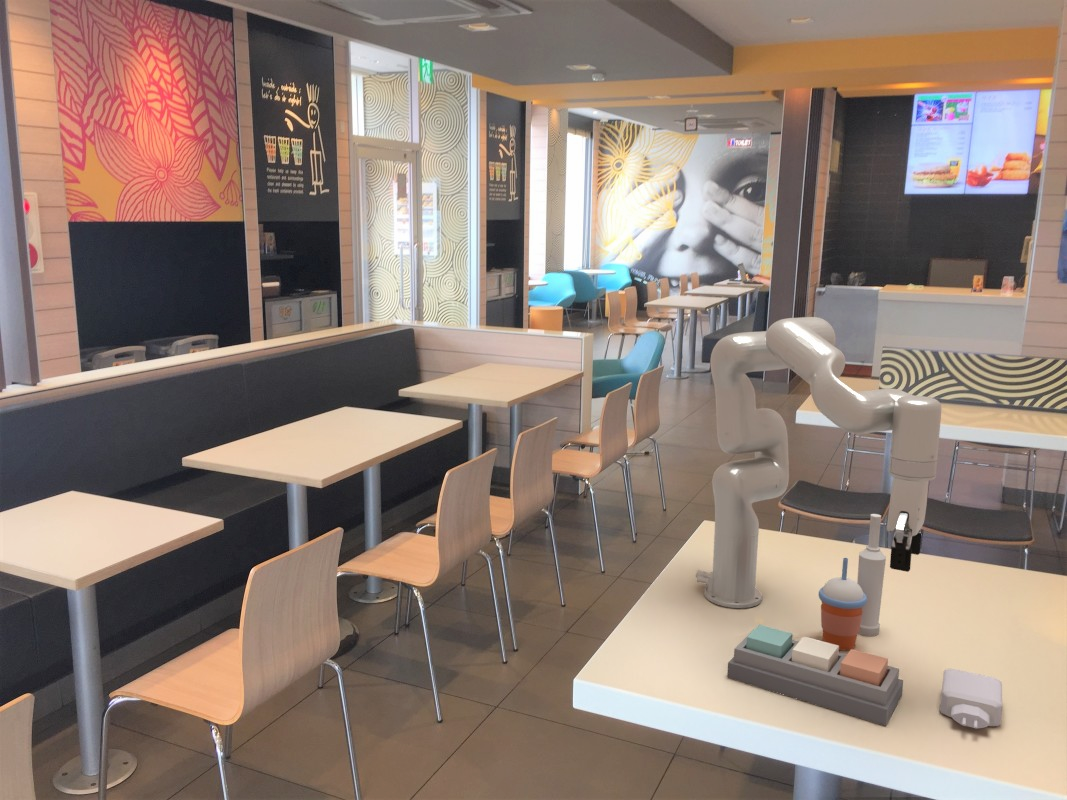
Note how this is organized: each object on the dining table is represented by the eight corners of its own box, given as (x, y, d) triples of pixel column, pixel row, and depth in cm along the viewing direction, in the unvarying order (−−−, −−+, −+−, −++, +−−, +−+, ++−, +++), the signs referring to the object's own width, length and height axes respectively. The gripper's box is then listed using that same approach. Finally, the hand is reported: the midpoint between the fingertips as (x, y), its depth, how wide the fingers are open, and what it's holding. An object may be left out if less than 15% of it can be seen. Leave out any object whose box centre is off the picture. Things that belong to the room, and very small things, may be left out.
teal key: (746, 652, 162) (746, 637, 162) (758, 639, 168) (759, 624, 167) (780, 661, 159) (781, 646, 158) (791, 648, 164) (792, 633, 164)
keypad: (727, 677, 162) (728, 649, 161) (750, 652, 172) (752, 626, 171) (885, 726, 147) (888, 695, 146) (902, 695, 157) (904, 667, 155)
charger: (937, 732, 146) (941, 691, 159) (1000, 747, 141) (999, 703, 155) (940, 706, 145) (944, 666, 158) (1003, 720, 141) (1002, 679, 154)
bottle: (881, 637, 179) (892, 520, 174) (854, 635, 180) (864, 518, 175) (876, 626, 184) (887, 512, 179) (850, 624, 185) (860, 510, 180)
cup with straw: (862, 637, 179) (869, 553, 176) (863, 657, 171) (871, 569, 167) (815, 630, 182) (821, 547, 178) (814, 649, 173) (820, 563, 170)
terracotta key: (839, 678, 153) (840, 662, 152) (849, 664, 158) (850, 648, 158) (877, 689, 149) (879, 673, 149) (886, 674, 155) (888, 658, 154)
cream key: (791, 665, 158) (792, 649, 157) (802, 651, 163) (803, 636, 162) (827, 675, 154) (828, 659, 154) (837, 660, 159) (839, 645, 159)
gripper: (899, 454, 162) (892, 543, 165) (879, 475, 147) (872, 572, 150) (943, 460, 158) (935, 550, 161) (927, 481, 143) (919, 581, 146)
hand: (905, 561), depth 156 cm, fingers open, 9 cm apart
